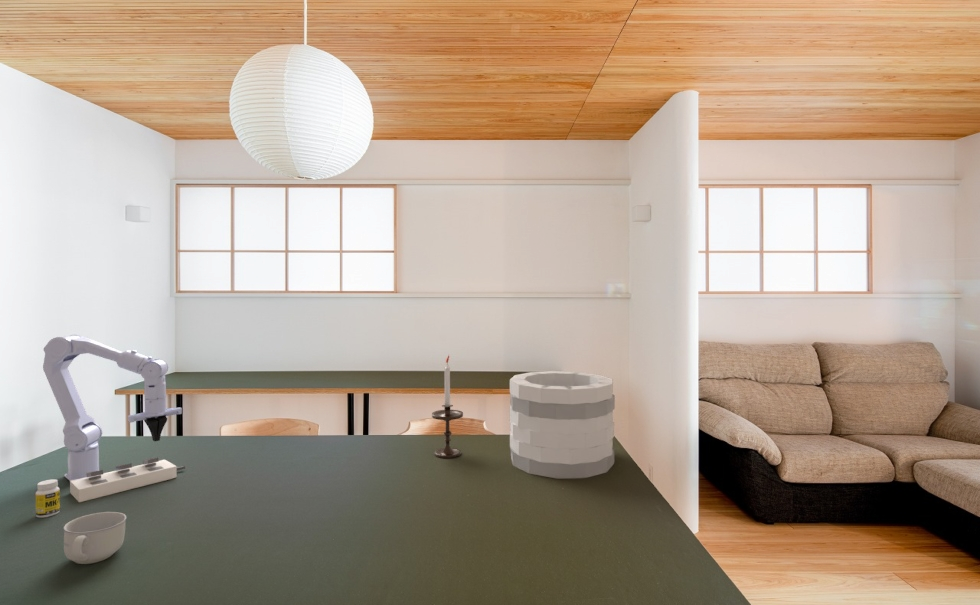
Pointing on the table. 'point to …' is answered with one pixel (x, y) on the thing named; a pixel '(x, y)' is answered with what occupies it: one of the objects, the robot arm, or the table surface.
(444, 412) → the candlestick
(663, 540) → the table surface
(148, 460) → the block
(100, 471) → the rocker
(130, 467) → the block
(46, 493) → the supplement bottle
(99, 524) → the teacup
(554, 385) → the storage basket
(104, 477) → the power strip
